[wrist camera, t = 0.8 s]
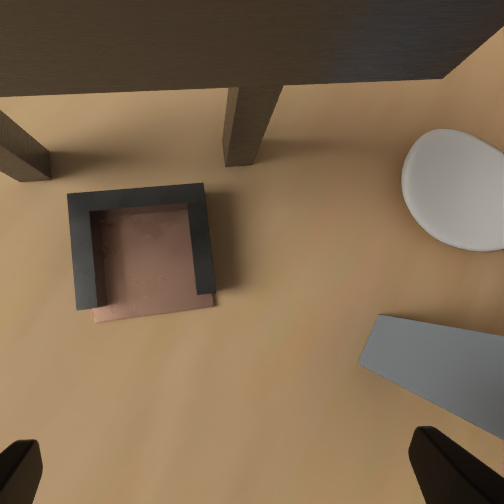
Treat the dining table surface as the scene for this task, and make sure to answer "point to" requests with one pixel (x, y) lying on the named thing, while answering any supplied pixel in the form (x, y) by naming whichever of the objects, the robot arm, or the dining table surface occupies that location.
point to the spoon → (456, 189)
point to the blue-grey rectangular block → (442, 367)
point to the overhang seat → (201, 77)
